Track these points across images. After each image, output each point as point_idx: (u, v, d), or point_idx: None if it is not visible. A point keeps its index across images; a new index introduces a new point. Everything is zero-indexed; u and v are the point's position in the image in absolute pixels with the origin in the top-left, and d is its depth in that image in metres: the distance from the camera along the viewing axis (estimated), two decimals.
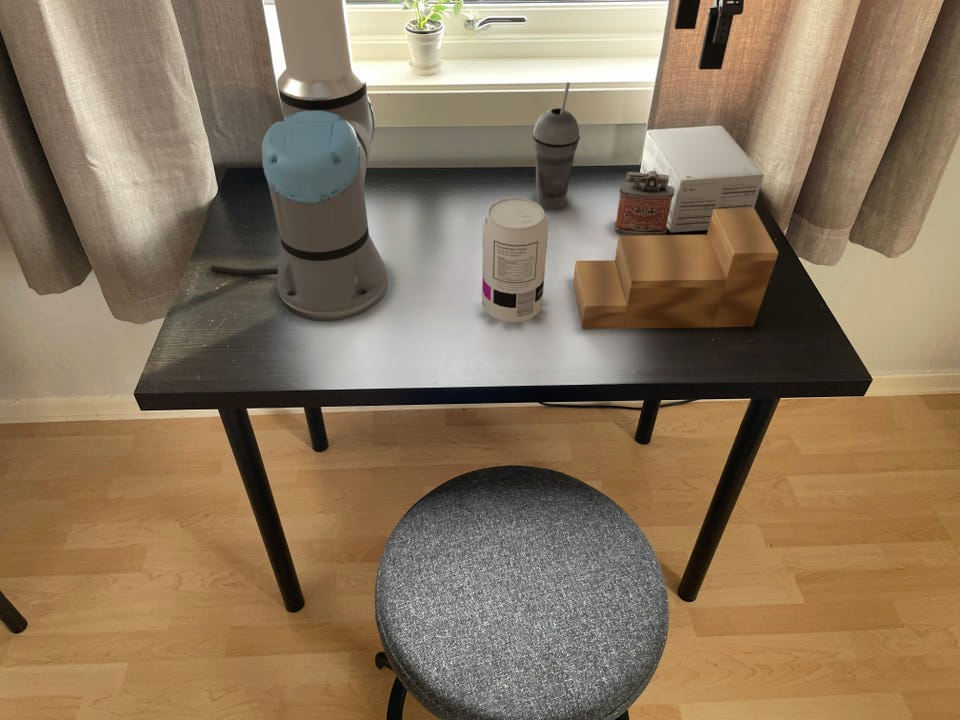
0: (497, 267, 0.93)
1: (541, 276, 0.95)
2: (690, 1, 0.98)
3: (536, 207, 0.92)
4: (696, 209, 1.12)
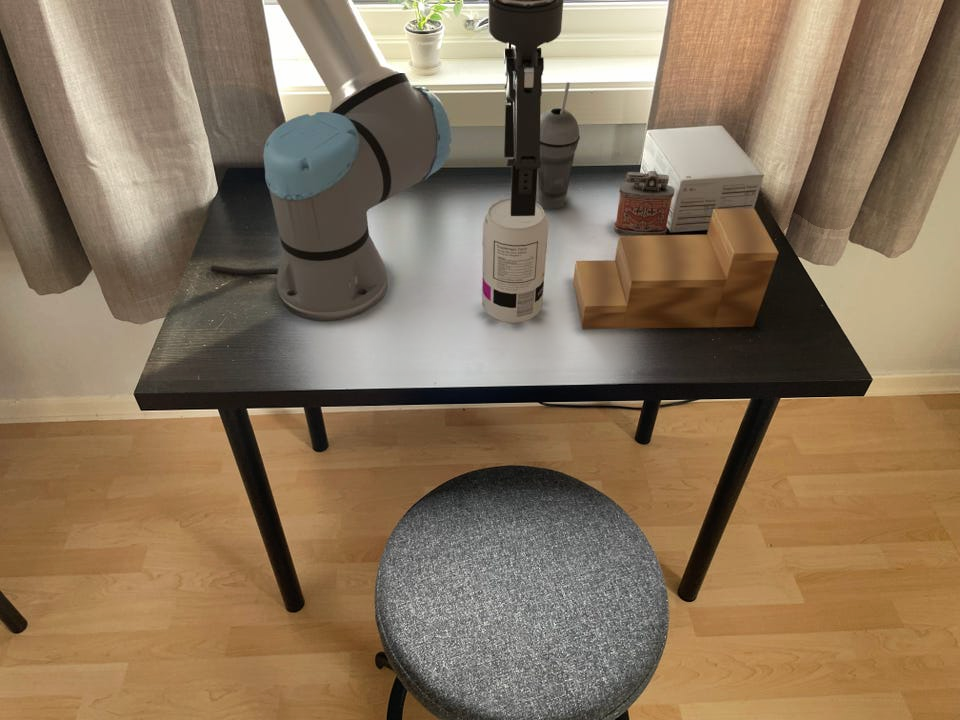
0: (497, 267, 0.93)
1: (541, 276, 0.95)
2: None
3: (536, 207, 0.92)
4: (696, 209, 1.12)
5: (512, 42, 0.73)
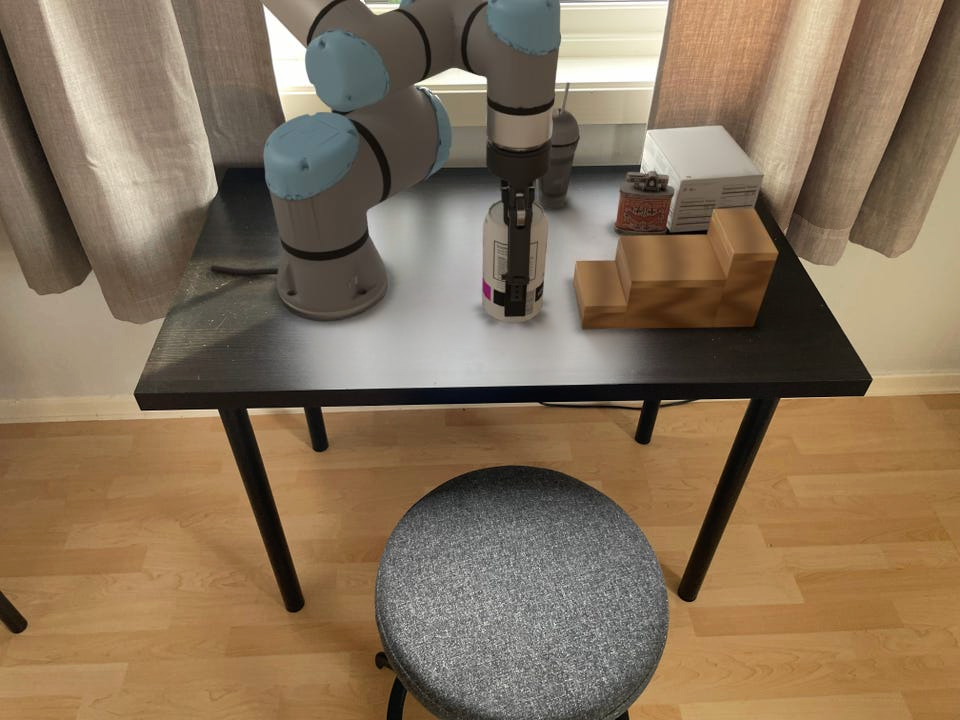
0: (497, 267, 0.93)
1: (541, 276, 0.95)
2: None
3: (536, 207, 0.92)
4: (696, 209, 1.12)
5: (507, 179, 0.84)
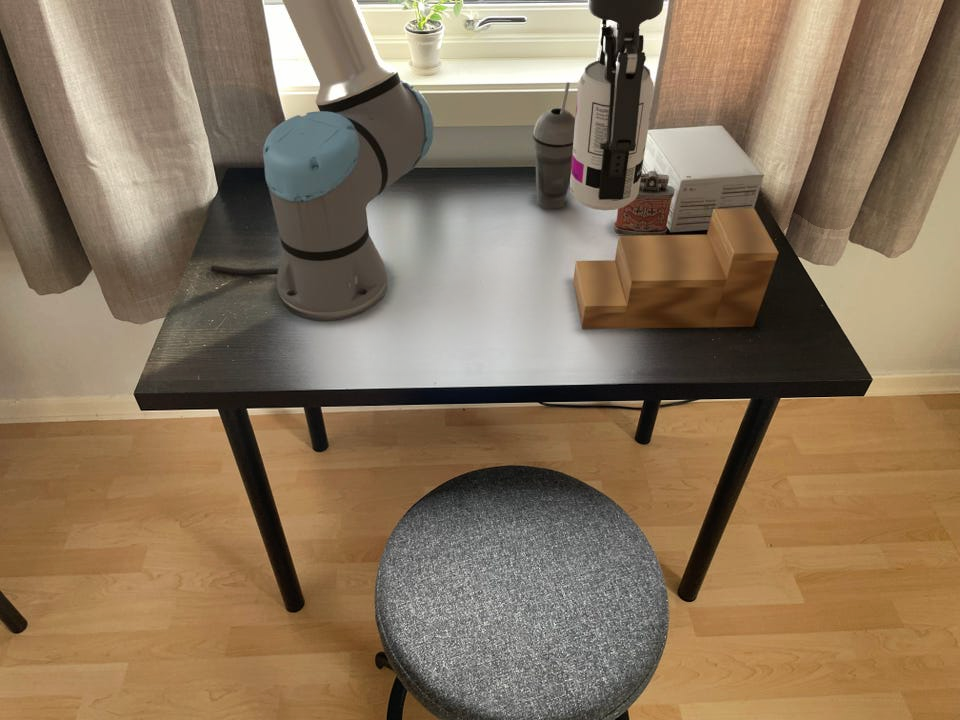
0: (594, 137, 0.81)
1: (642, 151, 0.83)
2: None
3: None
4: (696, 209, 1.12)
5: (615, 19, 0.72)
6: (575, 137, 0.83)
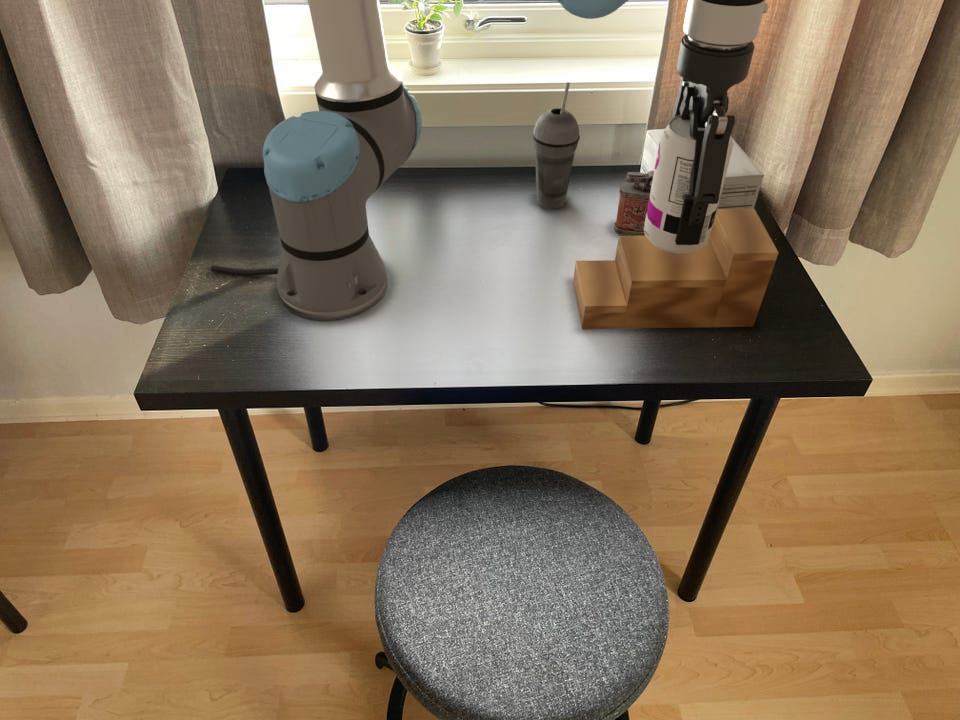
0: (676, 188, 0.86)
1: (718, 200, 0.88)
2: None
3: None
4: None
5: (706, 84, 0.77)
6: (655, 186, 0.88)
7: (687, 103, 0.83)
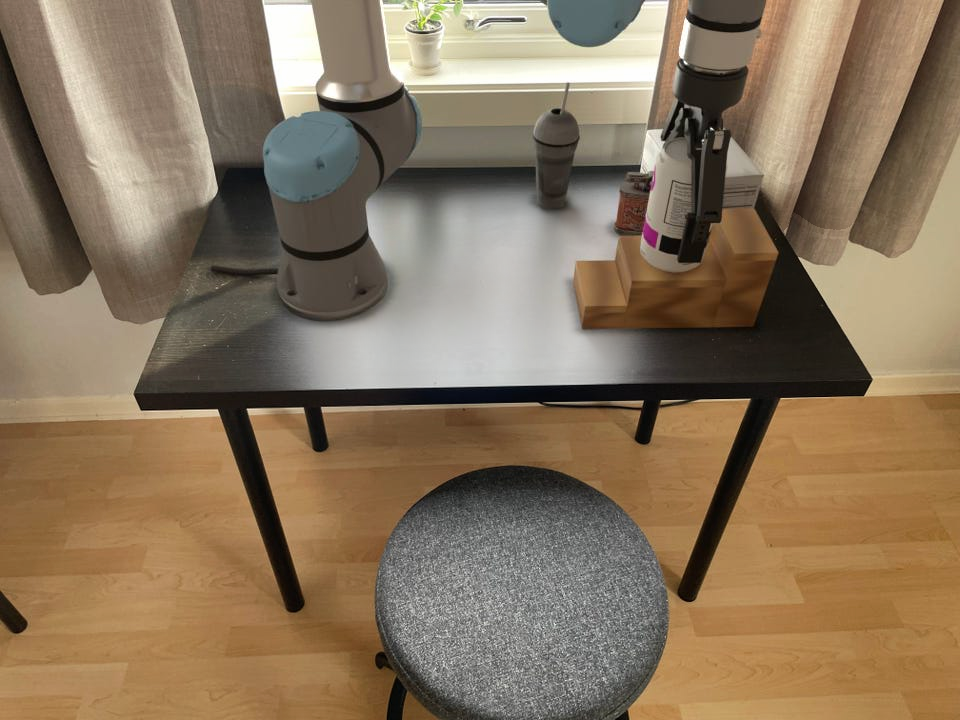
0: (671, 210, 0.88)
1: None
2: None
3: None
4: None
5: (701, 106, 0.79)
6: (651, 207, 0.90)
7: (682, 122, 0.85)
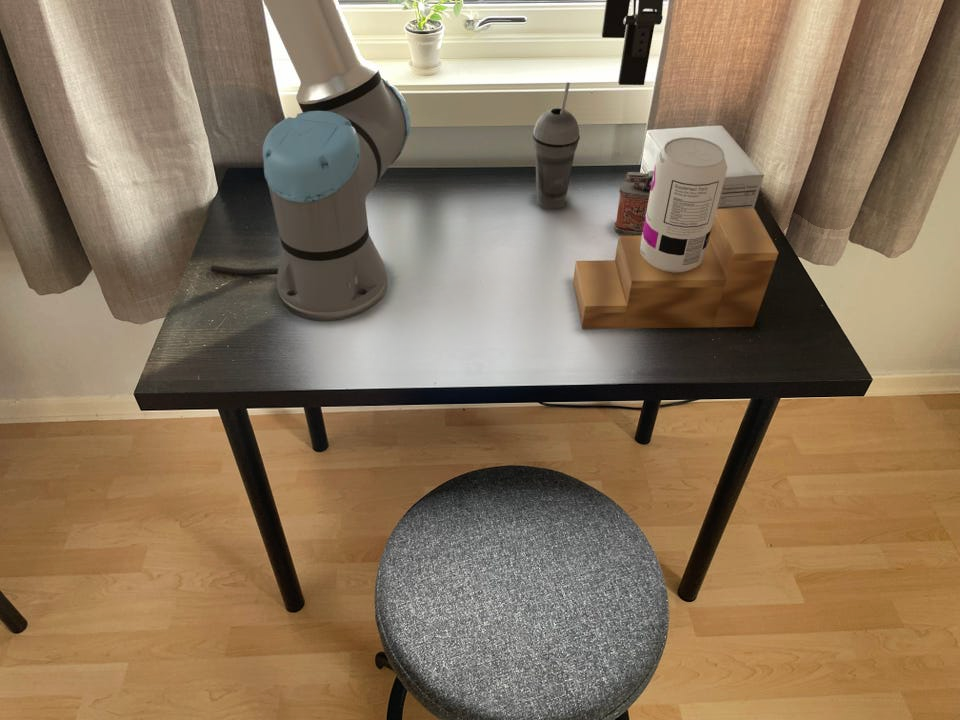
0: (671, 210, 0.88)
1: (712, 221, 0.90)
2: (617, 7, 0.88)
3: (713, 146, 0.87)
4: None
5: None
6: (651, 207, 0.90)
7: None
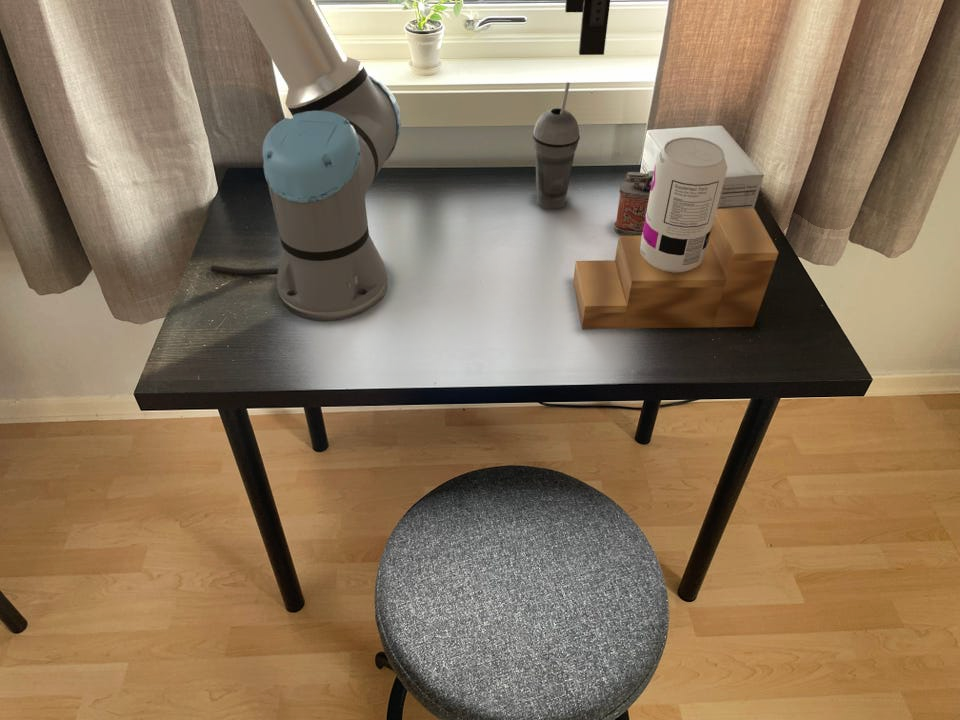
0: (671, 210, 0.88)
1: (712, 221, 0.90)
2: None
3: (713, 146, 0.87)
4: None
5: None
6: (651, 207, 0.90)
7: None
